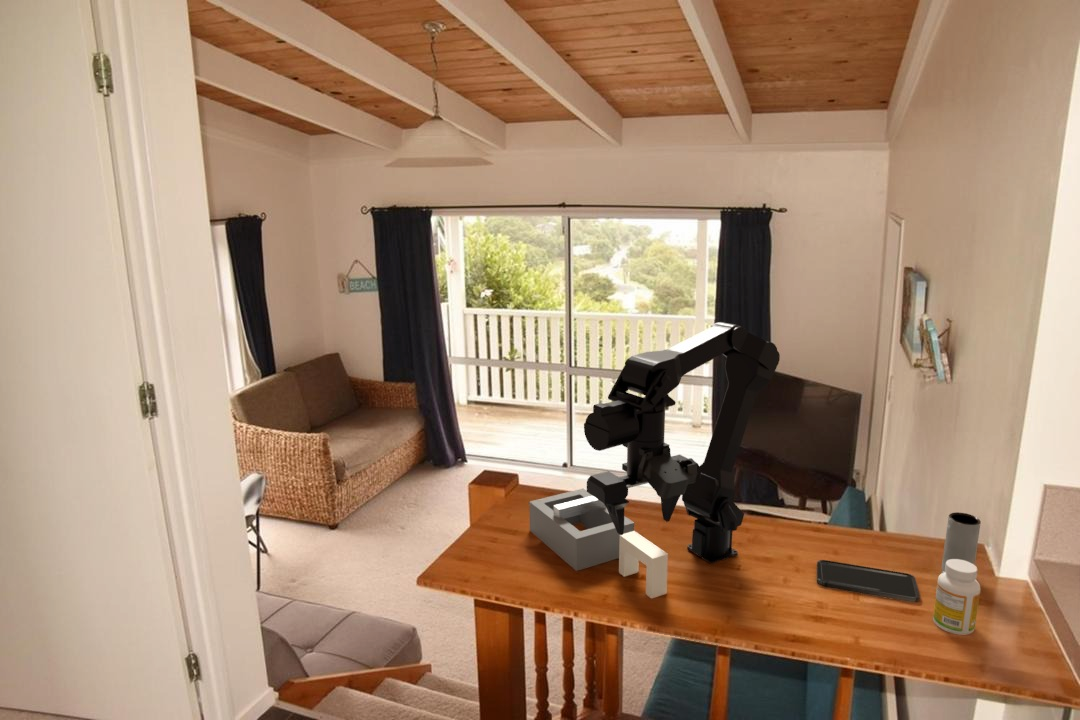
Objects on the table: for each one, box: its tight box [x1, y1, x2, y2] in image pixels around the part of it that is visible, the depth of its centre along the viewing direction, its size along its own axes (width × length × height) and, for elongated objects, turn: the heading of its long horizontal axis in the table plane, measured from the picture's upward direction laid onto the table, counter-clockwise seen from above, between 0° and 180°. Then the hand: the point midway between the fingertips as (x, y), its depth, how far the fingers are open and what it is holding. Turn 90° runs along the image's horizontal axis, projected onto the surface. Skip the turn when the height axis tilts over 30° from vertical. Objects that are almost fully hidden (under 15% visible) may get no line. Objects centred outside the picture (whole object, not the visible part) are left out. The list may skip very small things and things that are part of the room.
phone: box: [816, 559, 921, 603], centre depth 115 cm, size 8×1×15 cm
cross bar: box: [554, 496, 606, 520], centre depth 128 cm, size 10×2×2 cm, turn 119°
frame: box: [528, 488, 635, 572], centre depth 129 cm, size 12×17×6 cm
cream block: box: [618, 530, 669, 599], centre depth 115 cm, size 3×9×7 cm, turn 29°
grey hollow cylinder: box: [941, 512, 981, 574], centre depth 116 cm, size 4×4×10 cm
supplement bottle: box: [932, 559, 981, 636], centre depth 103 cm, size 5×5×10 cm
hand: (643, 527), depth 113 cm, fingers open, 9 cm apart
